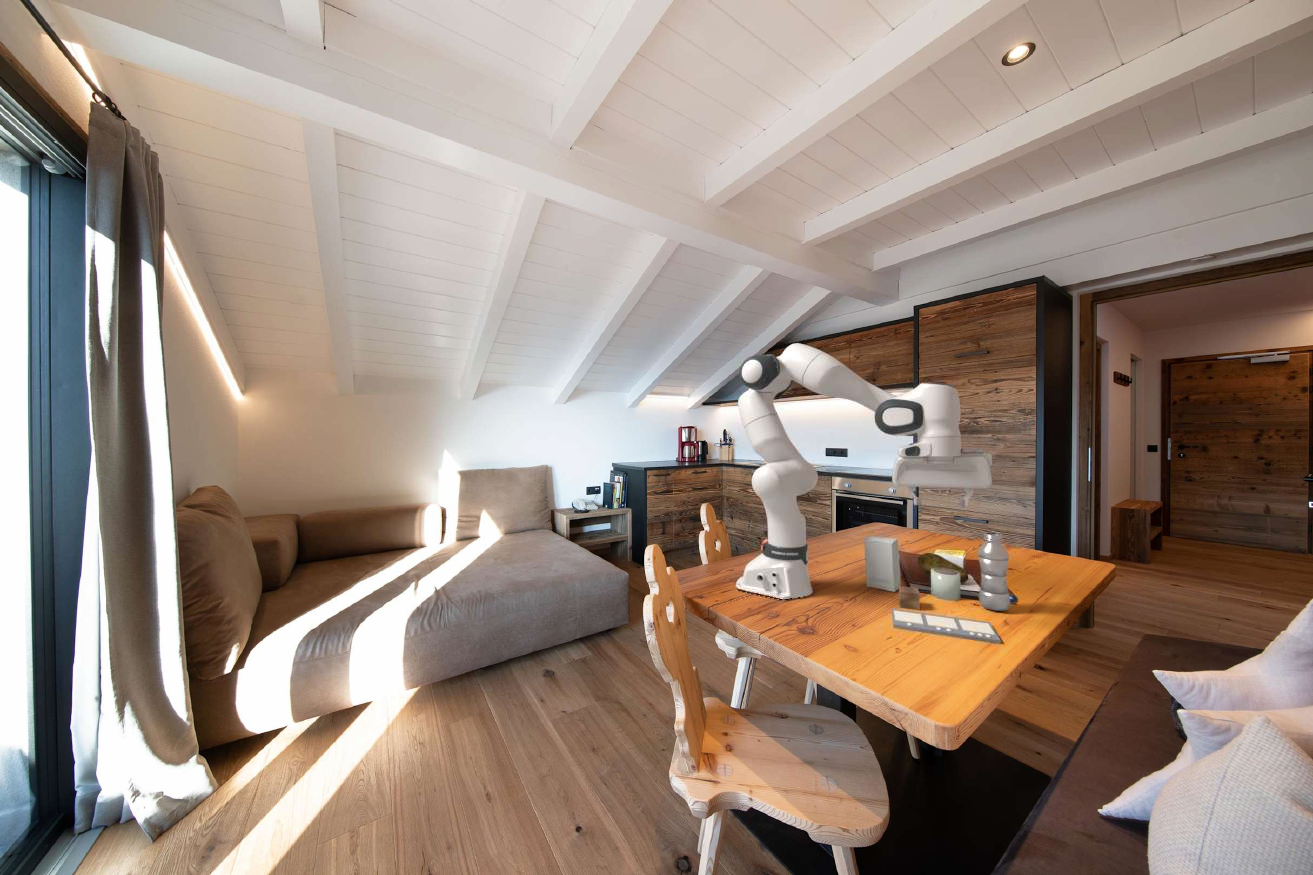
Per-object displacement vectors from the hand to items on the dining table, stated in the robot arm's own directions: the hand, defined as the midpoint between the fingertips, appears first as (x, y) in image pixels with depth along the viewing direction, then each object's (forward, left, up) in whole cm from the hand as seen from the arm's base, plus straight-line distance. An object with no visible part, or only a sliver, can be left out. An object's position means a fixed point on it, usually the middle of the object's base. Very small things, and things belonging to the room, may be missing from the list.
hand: (940, 505), depth 106 cm
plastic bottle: (+14, +17, -30) cm, 37 cm away
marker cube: (-6, +11, -30) cm, 32 cm away
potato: (+5, +37, -30) cm, 48 cm away
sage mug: (+4, +23, -30) cm, 37 cm away
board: (0, 0, -29) cm, 29 cm away
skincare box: (-12, +24, -30) cm, 40 cm away
